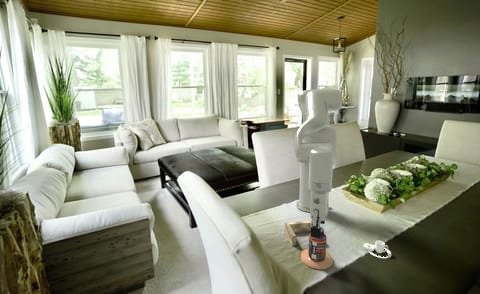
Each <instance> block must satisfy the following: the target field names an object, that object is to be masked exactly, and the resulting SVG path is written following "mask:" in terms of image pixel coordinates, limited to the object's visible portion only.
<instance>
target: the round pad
mask: <svg viewBox="0 0 480 294" xmlns="http://www.w3.org/2000/svg"><path fill="white" fill-rule="evenodd" d="M308 250H309V248H306V249H304V250H303V251H301V254H300V259H301V261H302V263H303V264H304V265H306V266H307V267H309V268H311V269H314V270H320V271H321V270H327V269H329V268H331V267H332V266H333V263H334V259H333V256H332V255H331V253H329V252H328V251H326V256H325V259H324V260H323V261H320V262H317V261H313V260H312V259H310V258H309V255H308Z"/></svg>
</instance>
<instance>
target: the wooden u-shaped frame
mask: <svg viewBox="0 0 480 294" xmlns="http://www.w3.org/2000/svg"><path fill="white" fill-rule="evenodd" d="M311 222H312V220H303V221H301V220H300V221H291V222H289V221H288V222H284V233H285V236H286V237H287V238H288V241H289V242H290V244H291V246H297V235H296V234H295V233H302V232H310V231H311Z"/></svg>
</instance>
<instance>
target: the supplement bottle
mask: <svg viewBox="0 0 480 294" xmlns="http://www.w3.org/2000/svg"><path fill="white" fill-rule="evenodd" d="M320 227H321V234H320V238H314V237H311V236H310V233H309V235H308V249H309V250H308V255H309V258H310V259H312V260H313V261H317V262H320V261H323V260H324V259H325V256H326V252H327V235H326V233H325V228H324V227H323V226H320Z"/></svg>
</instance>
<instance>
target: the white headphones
mask: <svg viewBox="0 0 480 294" xmlns="http://www.w3.org/2000/svg"><path fill="white" fill-rule="evenodd" d="M363 247H364V248H365V250H366V251H367V252H368V254H369V253H370V255H372V256H374V257H375V258H376V257H377V258H379V259H389V258H391V257H392V252H391V250H389V246H388V245H387V244H386V243H385V242H384V241H382V240H380V239H379V240H378V239H377V240H375V243H374V244H372V243H367V242H366V243H364V244H363ZM384 249H385V250H384ZM373 251H375V252H376V253H378V254H382V253H385V252H386V253H387V255H388V256H387V255H385V256H386V257H384V256H383V257H381V255H378V256H377V254H375V253H373Z"/></svg>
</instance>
